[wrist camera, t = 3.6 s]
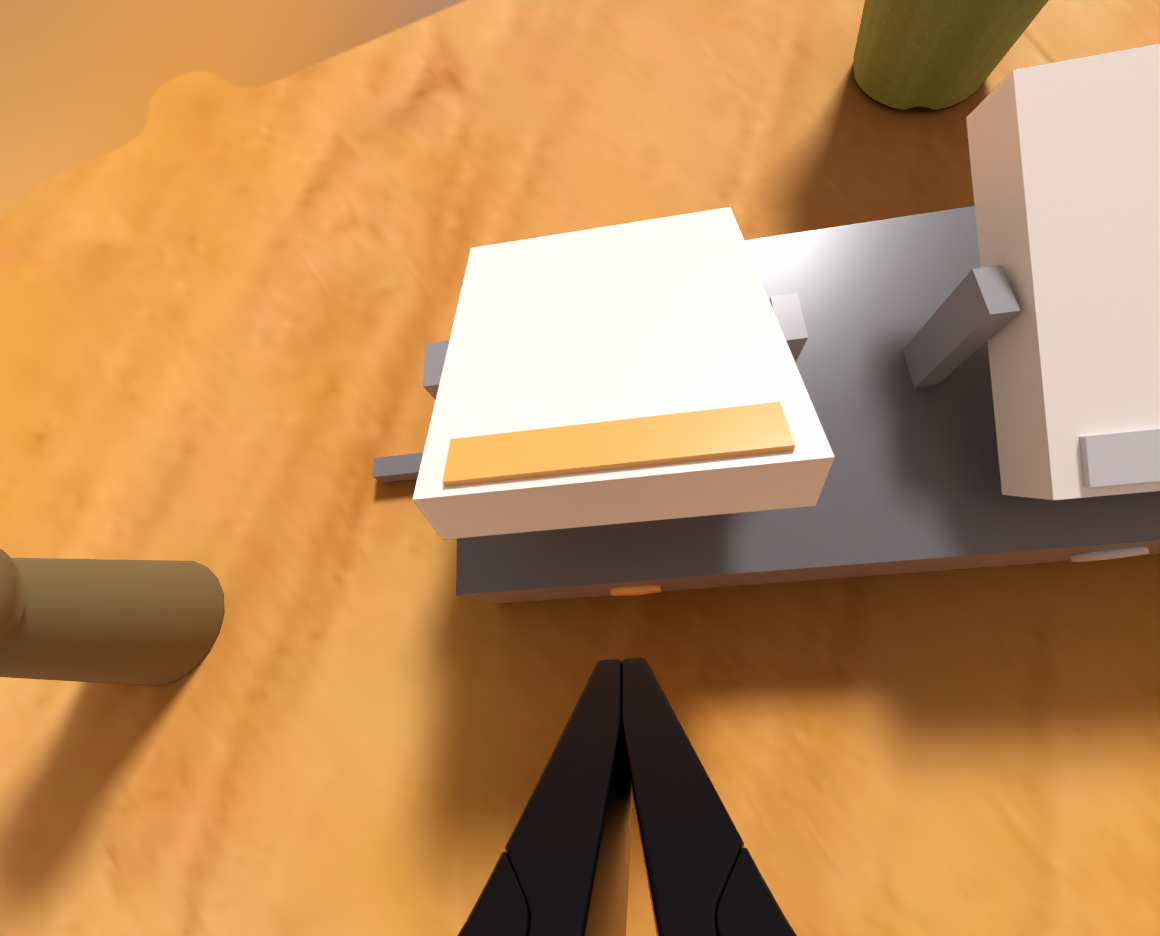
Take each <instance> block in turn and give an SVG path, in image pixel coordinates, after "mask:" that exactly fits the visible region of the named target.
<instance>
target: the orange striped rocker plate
mask: <svg viewBox="0 0 1160 936" xmlns="http://www.w3.org/2000/svg"><path fill="white" fill-rule="evenodd" d="M833 460H834V454H833V452H832V450H831V447H830V445H829V442H828V440H827V438H826V435H825V433H824V430H823V428H822V426H821V423H820V421H819V418H818V416H817V414H816V411H815V409H814V406H813V404H812V402H811V399H810V397H809V394H808V392H807V390H806V387H805V385H804V382H803V380H802V378H801V375H800V373H799V370H798V368H797V366H796V363H795V361H794V358H793V356H792V354H791V351H790V349H789V346H788V344H787V342H786V339H785V337H784V334H783V332H782V330H781V327H780V325H779V322H778V320H777V318H776V315H775V313H774V310H773V308H772V306H771V303H770V301H769V298H768V296H767V294H766V291H765V289H764V286H763V284H762V282H761V279H760V277H759V274H758V272H757V270H756V267H755V265H754V262H753V260H752V258H751V255H750V253H749V250H748V248H747V246H746V243H745V241H744V238H743V236H742V234H741V231H740V229H739V226H738V224H737V222H736V219H735V217H734V214H733V212H732V210H731V207H727V208H720V209H714V210H708V211H701V212H695V213H689V214H682V215H676V216H670V217H663V218H657V219H651V220H644V221H638V222H632V223H625V224H619V225H613V226H606V227H600V228H594V229H587V230H581V231H575V232H568V233H562V234H556V235H550V236H543V237H537V238H531V239H524V240H518V241H512V242H505V243H499V244H493V245H486V246H480V247H474V248H471V250H470V255H469V259H468V263H467V267H466V272H465V276H464V280H463V285H462V289H461V293H460V298H459V302H458V306H457V310H456V315H455V319H454V323H453V328H452V332H451V336H450V340H449V345H448V349H447V353H446V358H445V362H444V366H443V371H442V375H441V379H440V383H439V388H438V392H437V396H436V401H435V405H434V409H433V413H432V418H431V422H430V426H429V431H428V435H427V439H426V444H425V448H424V452H423V456H422V461H421V465H420V469H419V474H418V478H417V482H416V486H415V491H414V495H413V499H412V500H413V501H414V502H415V504H416V505H417V507H418V508H419V509H420V511H421V512H422V513H423V515H424V516H425V517H426V519H427V520H428V521H429V523H430V524H431V526H432V527H433V528H434V530H435V531H436V532H437V534H438V535H439V536H440V538H441V539H442V540H444V539H455V538H466V537H477V536H488V535H499V534H510V533H521V532H532V531H543V530H554V529H565V528H576V527H587V526H598V525H609V524H620V523H631V522H642V521H653V520H664V519H675V518H686V517H697V516H708V515H719V514H730V513H741V512H752V511H763V510H774V509H785V508H796V507H807V506H816V504H817V501H818V499H819V496H820V493H821V491H822V488H823V486H824V483H825V480H826V478H827V475H828V473H829V470H830V467H831V465H832V462H833Z"/></svg>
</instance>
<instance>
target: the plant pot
mask: <svg viewBox="0 0 1160 936" xmlns="http://www.w3.org/2000/svg"><path fill="white" fill-rule="evenodd" d="M1047 1H1048V0H865V4H864V9H863V14H862V19H861V24H860V29H859V34H858V39H857V43H856V48H855V53H854V78H855V80H856V82H857V83H858V85H859V86H860V88H861V89H862V90H863V91H864V92H865V93H866V94H867V95H868V96H870V97H871V98H872V99H874V100H876V101H878V102H880V103H882V104H884V105H887V106H889V107H893V108H897V109H902V110H906V109H909V108H913V107H927V108H930V109H932V110H937V109H942V108H946V107H949V106H952V105H955V104H957V103H959V102H961V101H963V100H965V99H966V98H968V97H969V96H971V95H972V94H973V93H974V92H975V91H976V90H977V89H978V88H979V87H980V86H981V85H982V83H983V82H984V81H985V80H986V78H987V77H988V76H989V75H990V73H991V72H992V71H993V70H994V68H995V67H996V66H997V65H998V63H999V62H1000V61H1001V60H1002V58H1003V57H1004V56H1005V55H1006V53H1007V52H1008V51H1009V50H1010V48H1011V47H1012V46H1013V45H1014V43H1015V42H1016V41H1017V39H1018V38H1019V37H1020V36H1021V34H1022V33H1023V32H1024V31H1025V29H1026V28H1027V27H1028V26H1029V24H1030V23H1031V22H1032V20H1033V19H1034V18H1035V17H1036V15H1037V14H1038V13H1039V12H1040V10H1041V9H1042V8H1043V7H1044V5H1045V4H1046V3H1047Z"/></svg>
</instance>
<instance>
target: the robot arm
mask: <svg viewBox="0 0 1160 936" xmlns="http://www.w3.org/2000/svg"><path fill="white" fill-rule="evenodd" d="M632 790H633V797H634V803H635V809H636V815H637V821H638V827H639V833H640V839H641V845H642V851H643V857H644V863H645V868H646V874H647V880H648V886H649V892H650V898H651V904H652V910H653V916H654V922H655V928H656V933H657V936H797V935H796V934H795V932H794V930H793V929H792V927H791V926H790V924H789V923H788V921H787V919H786V918H785V916H784V914H783V912H782V911H781V909H780V907H779V905H778V904H777V902H776V900H775V898H774V897H773V895H772V893H771V891H770V890H769V888H768V886H767V884H766V883H765V881H764V879H763V877H762V875H761V874H760V872H759V870H758V868H757V866H756V864H755V862H754V860H753V859H752V857H751V855H750V853H749V851H748V849H747V848H744V843H743V840H742V839H741V837H740V835H739V833H738V831H737V829H736V827H735V825H734V824H733V822H732V820H731V818H730V816H729V814H728V812H727V810H726V809H725V807H724V805H723V803H722V801H721V799H720V797H719V796H718V794H717V792H716V790H715V788H714V786H713V784H712V782H711V781H710V779H709V777H708V775H707V773H706V771H705V769H704V767H703V766H702V764H701V762H700V760H699V758H698V756H697V754H696V752H695V751H694V749H693V747H692V745H691V743H690V741H689V739H688V737H687V736H686V734H685V732H684V730H683V728H682V726H681V724H680V722H679V721H678V719H677V717H676V715H675V713H674V711H673V709H672V707H671V706H670V704H669V702H668V700H667V698H666V696H665V694H664V692H663V691H662V689H661V687H660V685H659V683H658V681H657V679H656V677H655V676H654V674H653V672H652V670H651V668H650V666H649V664H648V663H647V661H646V660H645V659H644V658H633V659H624V660H623V662H621V661H620V660H617V659H616V660H602V661H599V662H598V663H597V664H596V666H595V668H594V670H593V672H592V674H591V676H590V678H589V680H588V682H587V684H586V686H585V688H584V690H583V692H582V694H581V696H580V698H579V700H578V702H577V704H576V706H575V708H574V710H573V712H572V714H571V716H570V718H569V720H568V722H567V724H566V726H565V728H564V730H563V732H562V734H561V736H560V738H559V740H558V742H557V744H556V746H555V748H554V750H553V752H552V754H551V756H550V758H549V760H548V762H547V764H546V766H545V768H544V770H543V772H542V774H541V776H540V778H539V780H538V782H537V784H536V786H535V788H534V790H533V792H532V794H531V796H530V798H529V800H528V802H527V804H526V806H525V808H524V810H523V812H522V814H521V816H520V818H519V820H518V822H517V824H516V826H515V828H514V830H513V832H512V834H511V836H510V838H509V840H508V842H507V844H506V846H505V850H506V852H507V853H506V852H502V854H501V855H500V857H499V859H498V861H497V863H496V865H495V868H494V870H493V872H492V874H491V876H490V878H489V879H488V881H487V883H486V885H485V887H484V889H483V891H482V893H481V894H480V896H479V898H478V900H477V902H476V904H475V906H474V908H473V909H472V911H471V913H470V915H469V917H468V919H467V921H466V922H465V924H464V926H463V927H462V929H461V931H460V932H459V934H458V936H626V919H627V899H628V879H629V860H630V840H631V821H632Z"/></svg>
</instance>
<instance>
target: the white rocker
mask: <svg viewBox="0 0 1160 936" xmlns="http://www.w3.org/2000/svg"><path fill="white" fill-rule="evenodd" d="M966 121H967V132H968V142H969V153H970V163H971V174H972V184H973V195H974V205H975V216H976V226H977V237H978V247H979V258H980V268H983V267H990V266H997V265H1002V267H1003V270H1004V272H1005V274H1006V277H1007V279H1008V282H1009V284H1010V286H1011V289H1012V291H1013V294H1014V296H1015V299H1016V301H1017V303H1018V306H1019V308H1020V311H1019V312H1018V313H1017V314H1016V315H1015V316H1014V317H1013V318H1012V319H1011V320H1009V321H1008V322H1007V323H1006V324H1005V325H1004V326H1003V327H1002V328H1001V329H999V330H998V331H997V332H996V333H995V334H994V335H993V336H992V337H991V338H989V339H988V340H987V342H988V352H989V362H990V373H991V383H992V394H993V404H994V415H995V425H996V436H997V446H998V457H999V467H1000V478H1001V488H1002V495H1009V496H1019V497H1028V498H1037V499H1047V500H1062V499H1073V498H1085V497H1096V496H1107V495H1119V494H1130V493H1142V492H1153V491H1160V44H1156V45H1150V46H1145V47H1139V48H1133V49H1128V50H1122V51H1117V52H1111V53H1105V54H1100V55H1094V56H1088V57H1083V58H1077V59H1071V60H1066V61H1060V62H1054V63H1049V64H1043V65H1038V66H1032V67H1026V68H1021V69H1015V70H1012V71H1011V72H1010V73H1009V74H1008V76H1007V77H1006V78H1005V79H1004V80H1003V81H1002V82H1001V83H1000V84H999V85H998V86H997V87H996V88H995V89H994V90H993V91H992V92H991V93H990V94H989V95H988V96H987V97H986V98H985V99H984V100H983V101H982V102H981V103H980V104H979V105H978V106H977V107H976V108H975V109H974V110H973V111H972V112H971V113H970V114H969V115H968V116H967V118H966Z"/></svg>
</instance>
